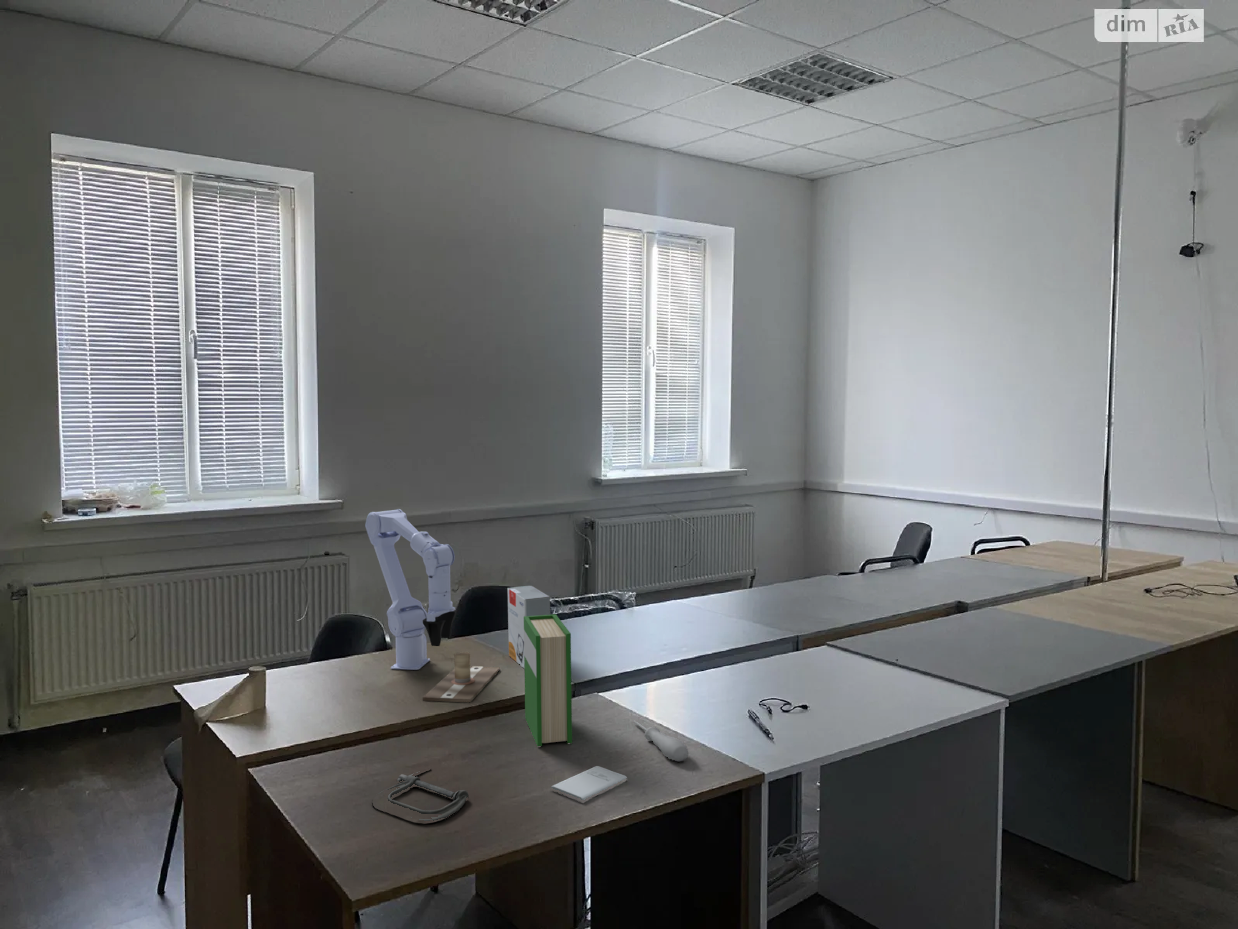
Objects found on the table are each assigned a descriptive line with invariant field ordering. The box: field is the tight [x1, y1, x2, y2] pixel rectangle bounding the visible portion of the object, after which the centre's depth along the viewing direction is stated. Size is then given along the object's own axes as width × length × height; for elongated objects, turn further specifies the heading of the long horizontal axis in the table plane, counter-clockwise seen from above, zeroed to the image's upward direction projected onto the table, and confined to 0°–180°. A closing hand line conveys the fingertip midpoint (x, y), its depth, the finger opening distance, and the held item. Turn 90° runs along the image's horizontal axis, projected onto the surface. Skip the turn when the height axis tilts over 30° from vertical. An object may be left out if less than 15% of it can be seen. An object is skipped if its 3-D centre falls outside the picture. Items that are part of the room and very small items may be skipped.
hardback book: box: [523, 613, 573, 747], centre depth 198 cm, size 18×7×24 cm, turn 14°
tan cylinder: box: [453, 651, 471, 683], centre depth 231 cm, size 4×4×7 cm
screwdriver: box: [632, 719, 689, 762], centre depth 191 cm, size 5×25×4 cm, turn 22°
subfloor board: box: [422, 665, 501, 703], centre depth 232 cm, size 26×12×1 cm, turn 172°
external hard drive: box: [550, 765, 628, 800], centre depth 170 cm, size 2×8×12 cm
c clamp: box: [377, 771, 469, 821], centre depth 166 cm, size 20×17×3 cm
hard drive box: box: [507, 585, 551, 669], centre depth 251 cm, size 16×8×20 cm, turn 25°
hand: (440, 641), depth 238 cm, fingers open, 7 cm apart
